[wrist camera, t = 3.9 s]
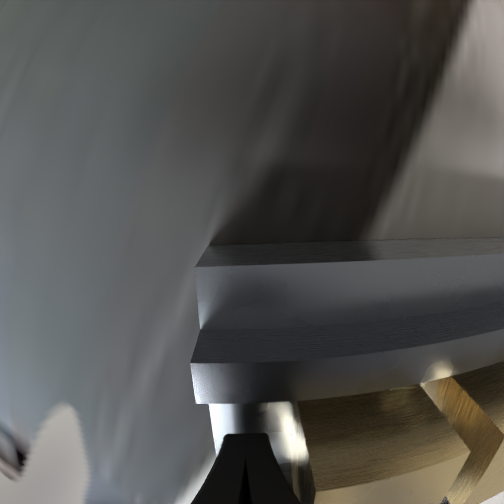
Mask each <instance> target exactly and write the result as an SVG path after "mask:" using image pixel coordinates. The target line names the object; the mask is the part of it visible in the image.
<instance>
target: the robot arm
mask: <svg viewBox="0 0 504 504" xmlns="http://www.w3.org/2000/svg"><path fill="white" fill-rule="evenodd" d="M191 504H301V503H300V501H299V500H298V498H297V497H296V495H295V494H294V492H293V490H292V489H291V487H290V485H289V483H288V482H287V480H286V478H285V476H284V474H283V473H282V471H281V469H280V466H279V464H278V462H277V460H276V457H275V455H274V453H273V450H272V447H271V444H270V440H269V435H268V434H266V433H240V434H226V435H225V436H224V438H223V442H222V445H221V448H220V451H219V453H218V455H217V458H216V460H215V462H214V464H213V467H212V468H211V470H210V472H209V474H208V476H207V478H206V480H205V482H204V484H203V485H202V487H201V489H200V490H199V492H198V493H197V495H196V496H195V498H194V500H193V501H192V503H191ZM448 504H450V503H448Z"/></svg>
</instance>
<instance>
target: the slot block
mask: <svg viewBox="0 0 504 504" xmlns="http://www.w3.org/2000/svg"><path fill="white" fill-rule="evenodd" d="M195 274H196V287H197V299H198V310H199V320H200V333H199V336H198V340H197V343H196V346H195V349H194V353H193V356H192V359H191V363H190V365H191V372H192V379H193V386H194V392H195V399H196V403H197V404H209V408H210V415H211V422H212V429H213V436H214V443H215V449H216V456H217V455H218V453H219V451H220V448H221V445H222V442H223V438H224V436H225V435H226V434H240V433H266V434H268V435H269V440H270V444H271V447H272V450H273V453H274V455H275V457H276V460H277V462H278V464H279V466H280V469H281V471H282V473H283V474H284V476H285V478H286V480H287V482H288V483H289V485H290V487H291V489H292V490H293V483H292V476H291V455H292V437H293V417H294V401H302V400H314V399H324V398H333V397H341V396H349V395H356V394H363V393H370V392H376V391H382V390H388V389H394V388H399V387H404V386H409V385H414V384H420V385H421V387H422V388H423V389H424V390H425V392H426V393H427V394H428V395H429V397H430V398H431V399H432V401H433V402H434V400H435V396H436V393H437V390H438V386H439V383H440V379H441V378H445V377H449V376H453V375H457V374H461V373H465V372H468V371H472V370H475V369H479V368H482V367H486V366H489V365H492V364H495V363H499V362H502V361H504V238H455V239H409V240H369V241H332V242H298V243H266V244H235V245H208V247H207V248H206V250H205V252H204V253H203V255H202V256H201V258H200V260H199V261H198V263H197V265H196V266H195ZM293 492H294V490H293Z"/></svg>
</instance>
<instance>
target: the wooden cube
mask: <svg viewBox="0 0 504 504" xmlns="http://www.w3.org/2000/svg"><path fill="white" fill-rule="evenodd" d="M470 452H471V451H470V450H469V449H468V447H467V446H466V445H465V443H464V442H463V440H462V439H461V438H460V436H459V435H458V434H457V432H456V431H455V430H454V428H453V427H452V426H451V424H450V423H449V422H448V420H447V419H446V418H445V416H444V415H443V414H442V412H441V411H440V410H439V408H438V407H437V406H436V405H435V403H434V402H433V401H432V399H431V398H430V397H429V395H428V394H427V393H426V392H425V390H424V389H423V388H422V387H421V385H420V384H414V385H409V386H404V387H399V388H394V389H388V390H382V391H376V392H370V393H363V394H356V395H349V396H341V397H333V398H324V399H314V400H302V401H294V417H293V437H292V455H291V476H292V483H293V490H294V494H295V495H296V497H297V498H298V500H299V501H300V503H301V504H440V503H441V502H442V500H443V499H444V497H445V496H446V494H447V492H448V491H449V489H450V488H451V486H452V484H453V483H454V481H455V479H456V477H457V476H458V474H459V472H460V470H461V469H462V467H463V465H464V463H465V461H466V459H467V458H468V456H469V454H470Z"/></svg>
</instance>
